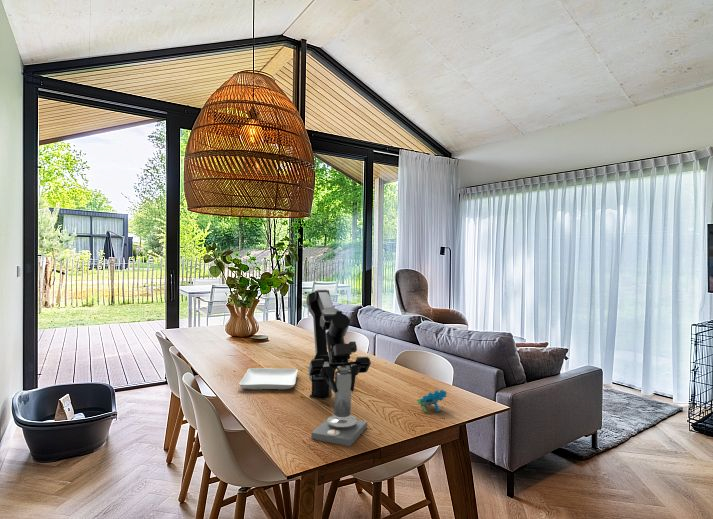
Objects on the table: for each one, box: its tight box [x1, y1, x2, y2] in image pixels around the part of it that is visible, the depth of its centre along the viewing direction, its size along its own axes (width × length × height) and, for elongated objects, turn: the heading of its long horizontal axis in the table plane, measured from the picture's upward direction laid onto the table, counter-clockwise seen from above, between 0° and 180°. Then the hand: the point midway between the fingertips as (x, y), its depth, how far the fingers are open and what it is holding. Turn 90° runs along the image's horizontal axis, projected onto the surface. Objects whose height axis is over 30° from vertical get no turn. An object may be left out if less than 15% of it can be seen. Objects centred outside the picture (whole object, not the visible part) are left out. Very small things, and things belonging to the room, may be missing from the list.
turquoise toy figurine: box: [416, 389, 447, 413], centre depth 149 cm, size 11×6×10 cm
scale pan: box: [326, 414, 358, 428], centre depth 130 cm, size 9×9×1 cm
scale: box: [310, 414, 368, 447], centre depth 129 cm, size 12×14×2 cm
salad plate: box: [238, 367, 299, 390], centre depth 174 cm, size 21×21×3 cm
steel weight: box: [333, 365, 352, 417], centre depth 130 cm, size 5×5×14 cm
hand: (344, 391), depth 129 cm, fingers closed on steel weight, 5 cm apart
